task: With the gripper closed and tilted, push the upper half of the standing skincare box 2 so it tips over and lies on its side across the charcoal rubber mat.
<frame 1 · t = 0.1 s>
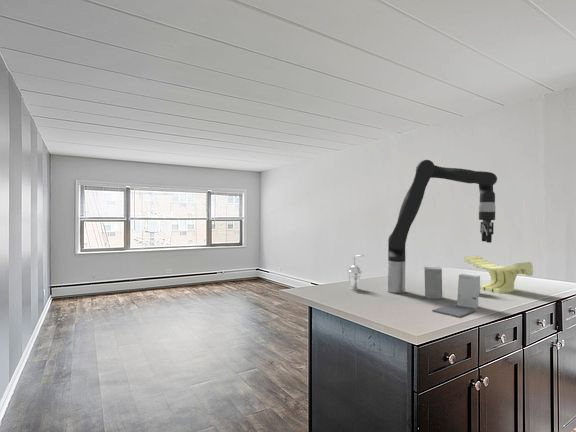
hand: (486, 241, 181), 29 cm above the worktop, tool pointing down, fingers open, 8 cm apart
skincare box 2: (468, 306, 164), on the worktop
skincare box: (433, 298, 180), on the worktop
small box: (472, 293, 190), on the worktop
cup with straw: (354, 289, 199), on the worktop
slatted curved stool: (496, 290, 200), on the worktop
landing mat: (454, 311, 155), on the worktop
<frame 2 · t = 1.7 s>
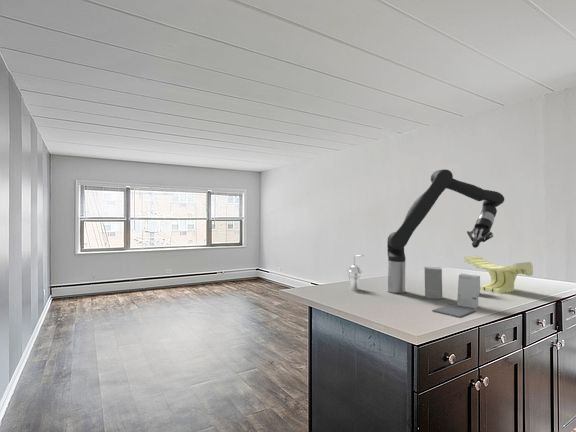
hand: (474, 246, 176), 27 cm above the worktop, tool tilted 45°, fingers closed
nothing on the worktop moved.
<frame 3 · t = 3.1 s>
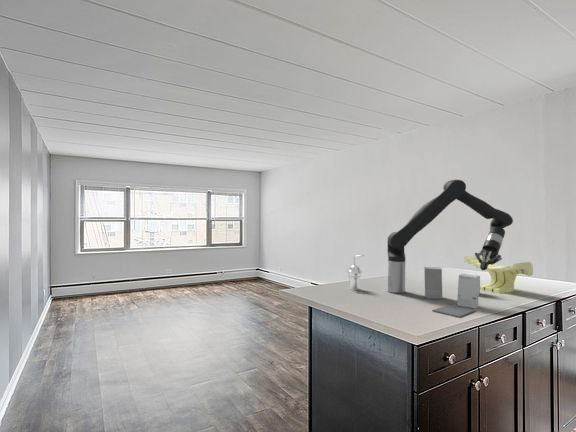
hand: (482, 269, 174), 16 cm above the worktop, tool tilted 45°, fingers closed
nothing on the worktop moved.
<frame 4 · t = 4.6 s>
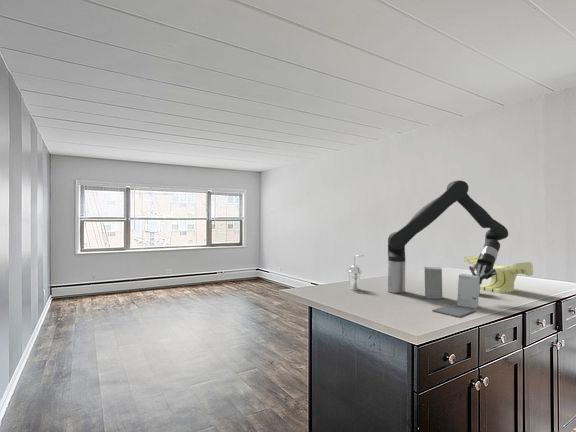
hand: (477, 284, 169), 9 cm above the worktop, tool tilted 45°, fingers closed
nothing on the worktop moved.
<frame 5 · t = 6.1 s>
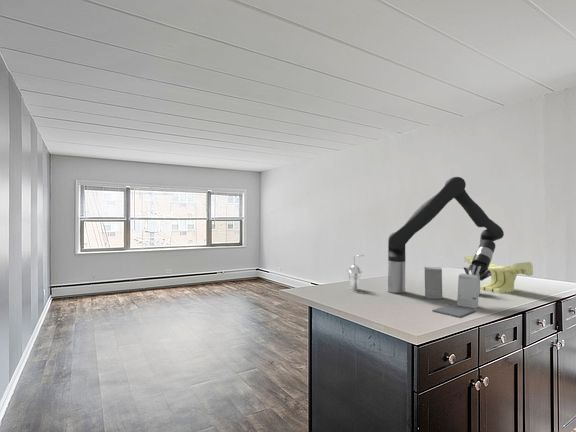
hand: (471, 285, 166), 9 cm above the worktop, tool tilted 45°, fingers closed
skincare box 2: (468, 306, 164), on the worktop, touching gripper
everything else where it was.
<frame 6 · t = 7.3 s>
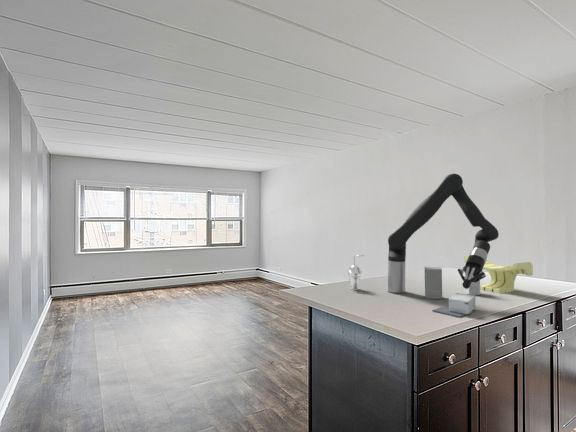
hand: (465, 287, 161), 9 cm above the worktop, tool tilted 45°, fingers closed
skincare box 2: (466, 299, 161), point 4 cm above the worktop, touching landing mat
everything else where it was.
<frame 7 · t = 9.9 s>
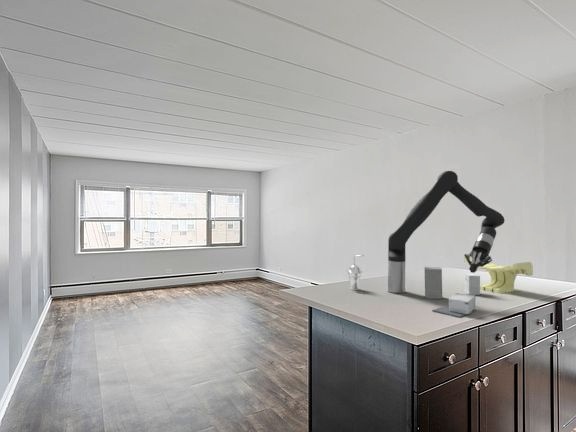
hand: (472, 271, 166), 16 cm above the worktop, tool tilted 45°, fingers closed
nothing on the worktop moved.
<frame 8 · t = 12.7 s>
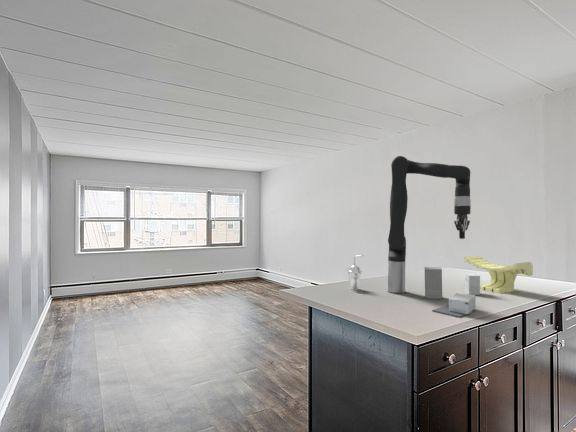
hand: (462, 238, 179), 31 cm above the worktop, tool pointing down, fingers closed
nothing on the worktop moved.
at the end: skincare box 2 tilted 91°; skincare box 2 touching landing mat; skincare box 2 11.3 cm from the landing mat (horizontally) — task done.
